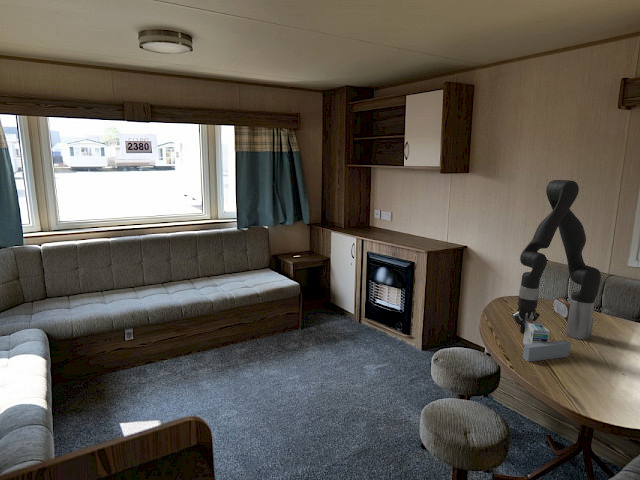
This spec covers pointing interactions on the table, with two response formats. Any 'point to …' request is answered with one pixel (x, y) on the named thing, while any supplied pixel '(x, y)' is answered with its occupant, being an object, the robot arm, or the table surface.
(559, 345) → the slate prism bar
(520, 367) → the table surface
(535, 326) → the light bulb box
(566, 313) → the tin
